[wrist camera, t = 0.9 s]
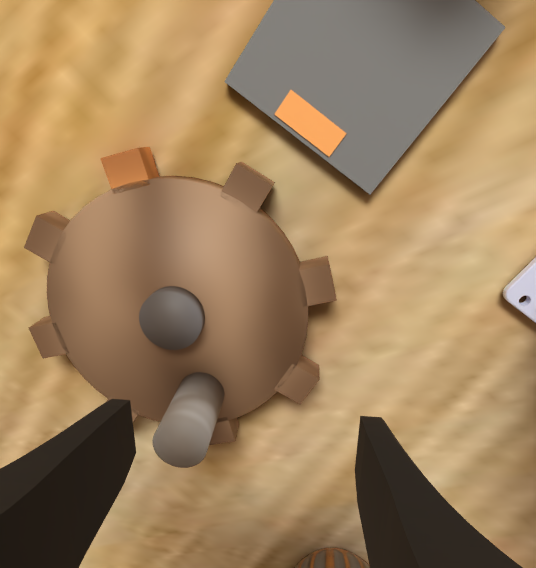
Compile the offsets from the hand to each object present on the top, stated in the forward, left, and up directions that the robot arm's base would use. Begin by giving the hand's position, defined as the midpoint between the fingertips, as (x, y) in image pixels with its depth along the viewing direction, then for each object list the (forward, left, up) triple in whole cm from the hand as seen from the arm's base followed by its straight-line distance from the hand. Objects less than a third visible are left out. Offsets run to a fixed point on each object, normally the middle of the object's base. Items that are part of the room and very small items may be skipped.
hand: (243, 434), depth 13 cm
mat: (+4, -12, -10) cm, 16 cm away
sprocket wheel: (+4, +2, -10) cm, 11 cm away
